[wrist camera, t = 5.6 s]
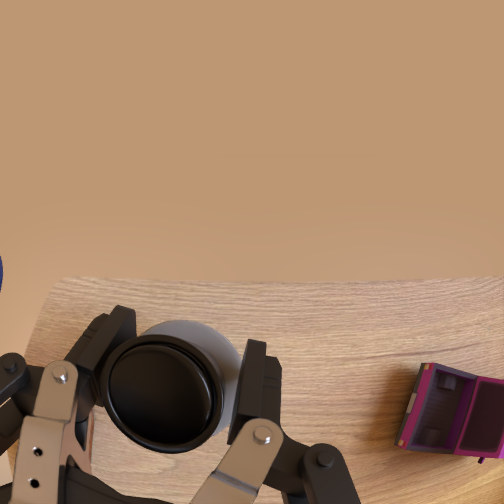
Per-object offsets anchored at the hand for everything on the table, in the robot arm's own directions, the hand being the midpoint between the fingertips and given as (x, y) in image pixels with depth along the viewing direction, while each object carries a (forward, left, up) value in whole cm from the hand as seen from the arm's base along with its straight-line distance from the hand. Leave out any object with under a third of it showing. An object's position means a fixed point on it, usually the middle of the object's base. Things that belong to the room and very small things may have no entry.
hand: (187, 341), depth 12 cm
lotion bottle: (+1, -2, -16) cm, 16 cm away
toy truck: (+26, +11, -16) cm, 33 cm away
